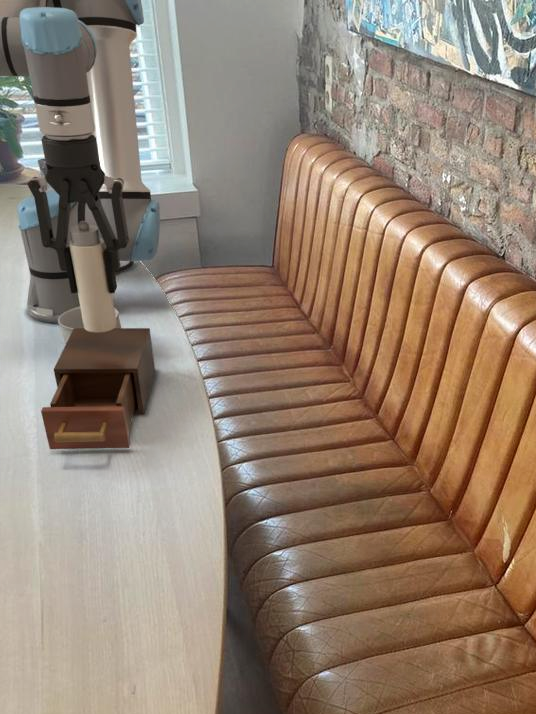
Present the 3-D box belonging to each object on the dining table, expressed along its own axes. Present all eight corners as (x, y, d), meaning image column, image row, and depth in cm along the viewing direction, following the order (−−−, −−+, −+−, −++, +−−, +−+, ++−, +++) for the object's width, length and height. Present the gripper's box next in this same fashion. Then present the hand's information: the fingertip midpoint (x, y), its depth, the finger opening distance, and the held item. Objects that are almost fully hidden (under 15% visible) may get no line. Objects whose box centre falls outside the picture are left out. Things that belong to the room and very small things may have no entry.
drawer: (125, 463, 116) (118, 425, 112) (42, 465, 115) (33, 426, 111) (141, 401, 131) (136, 365, 127) (69, 402, 130) (62, 366, 126)
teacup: (108, 370, 141) (102, 330, 137) (54, 363, 143) (45, 322, 138) (141, 339, 153) (136, 300, 148) (90, 332, 154) (83, 294, 149)
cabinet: (144, 414, 129) (137, 368, 124) (63, 415, 128) (53, 369, 123) (155, 371, 142) (149, 327, 137) (81, 371, 141) (73, 328, 136)
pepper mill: (87, 319, 130) (68, 215, 120) (119, 319, 130) (103, 216, 120) (81, 332, 125) (61, 226, 115) (113, 332, 126) (97, 226, 116)
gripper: (-6, 138, 107) (29, 298, 120) (129, 141, 108) (149, 299, 122) (9, 127, 113) (41, 281, 126) (137, 130, 115) (155, 281, 128)
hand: (94, 289), depth 124 cm, fingers closed on pepper mill, 5 cm apart
